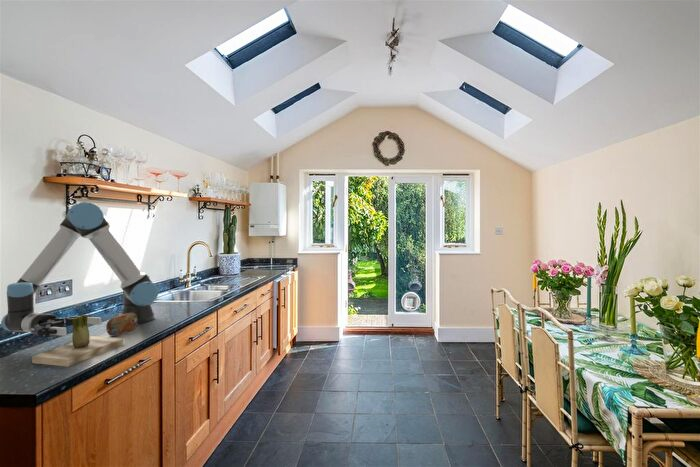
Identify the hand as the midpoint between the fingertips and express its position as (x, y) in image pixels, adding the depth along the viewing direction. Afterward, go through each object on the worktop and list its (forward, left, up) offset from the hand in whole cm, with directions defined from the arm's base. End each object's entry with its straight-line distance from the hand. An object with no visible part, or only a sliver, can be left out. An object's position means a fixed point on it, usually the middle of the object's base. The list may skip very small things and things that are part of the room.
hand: (83, 326), depth 129 cm
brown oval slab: (-24, -8, -11) cm, 28 cm away
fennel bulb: (0, -2, -8) cm, 9 cm away
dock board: (0, -2, -11) cm, 11 cm away
